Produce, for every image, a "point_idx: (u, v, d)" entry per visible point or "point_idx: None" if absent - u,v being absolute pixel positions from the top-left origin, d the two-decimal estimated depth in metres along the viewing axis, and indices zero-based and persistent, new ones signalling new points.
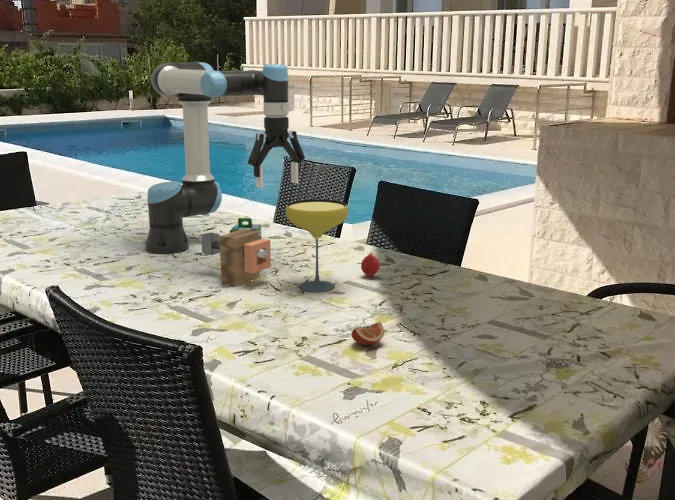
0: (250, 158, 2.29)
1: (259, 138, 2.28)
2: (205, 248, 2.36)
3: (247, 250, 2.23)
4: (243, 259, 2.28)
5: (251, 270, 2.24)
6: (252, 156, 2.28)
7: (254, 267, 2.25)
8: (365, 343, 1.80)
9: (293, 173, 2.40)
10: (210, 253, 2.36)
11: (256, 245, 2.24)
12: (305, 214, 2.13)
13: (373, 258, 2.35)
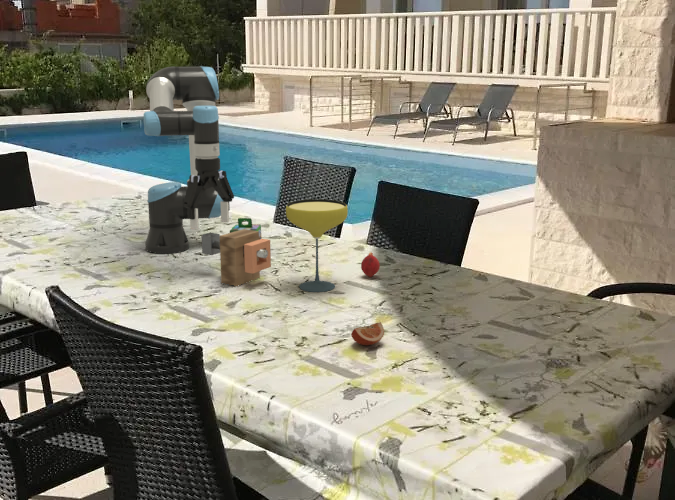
0: (185, 201, 2.26)
1: (193, 180, 2.26)
2: (205, 248, 2.36)
3: (247, 250, 2.23)
4: (243, 259, 2.28)
5: (251, 270, 2.24)
6: (187, 198, 2.26)
7: (254, 267, 2.25)
8: (365, 343, 1.80)
9: (223, 212, 2.40)
10: (210, 253, 2.36)
11: (256, 245, 2.24)
12: (305, 214, 2.13)
13: (373, 258, 2.35)
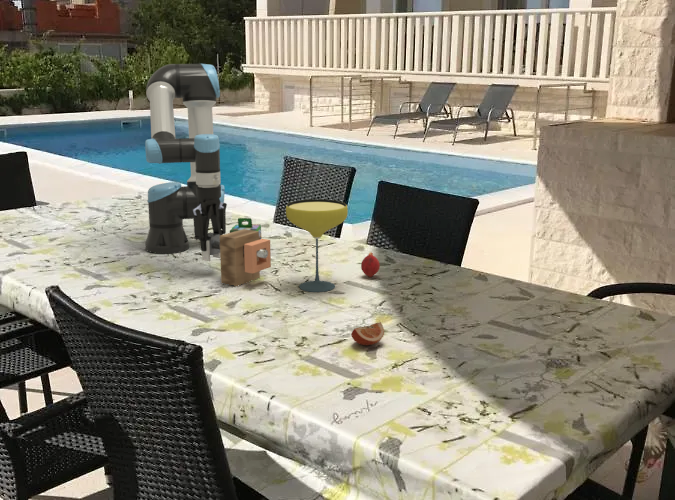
0: (196, 234, 2.32)
1: (196, 214, 2.29)
2: None
3: (247, 250, 2.23)
4: (243, 259, 2.28)
5: (251, 270, 2.24)
6: (197, 232, 2.32)
7: (254, 267, 2.25)
8: (365, 343, 1.80)
9: None
10: (210, 253, 2.36)
11: (256, 245, 2.24)
12: (305, 214, 2.13)
13: (373, 258, 2.35)
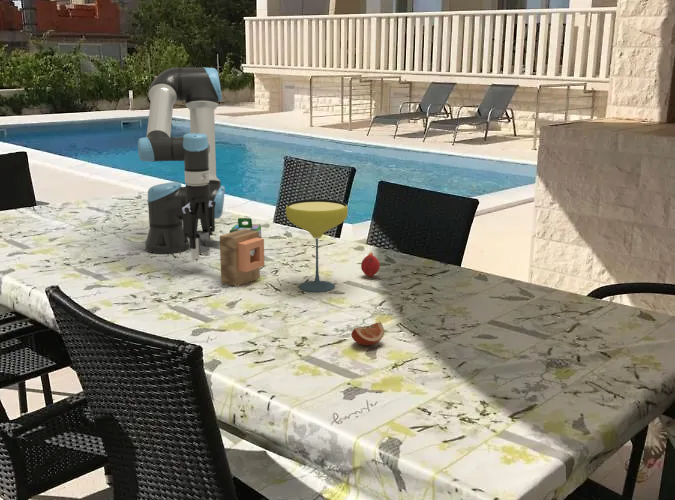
0: (185, 232, 2.35)
1: (185, 212, 2.32)
2: None
3: (241, 249, 2.25)
4: None
5: (245, 269, 2.26)
6: (186, 230, 2.34)
7: (248, 266, 2.26)
8: (365, 343, 1.80)
9: None
10: (199, 251, 2.38)
11: (250, 244, 2.25)
12: (305, 214, 2.13)
13: (373, 258, 2.35)
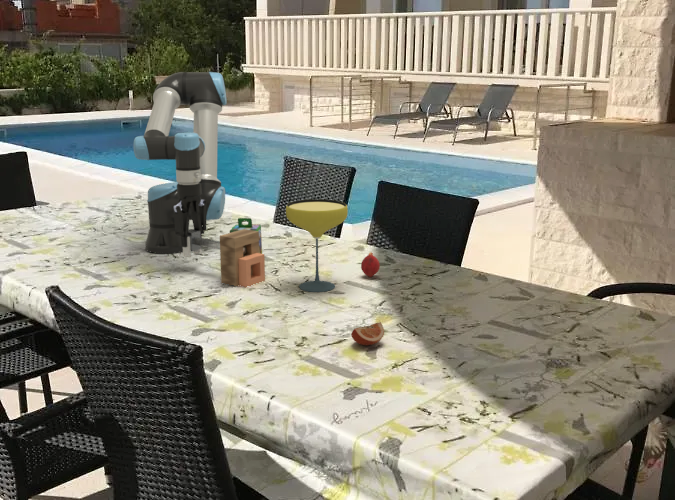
0: (176, 230, 2.37)
1: (177, 211, 2.34)
2: None
3: (241, 264, 2.26)
4: None
5: (245, 284, 2.27)
6: (178, 228, 2.36)
7: (248, 281, 2.27)
8: (365, 343, 1.80)
9: None
10: (191, 249, 2.40)
11: (250, 259, 2.26)
12: (305, 214, 2.13)
13: (373, 258, 2.35)
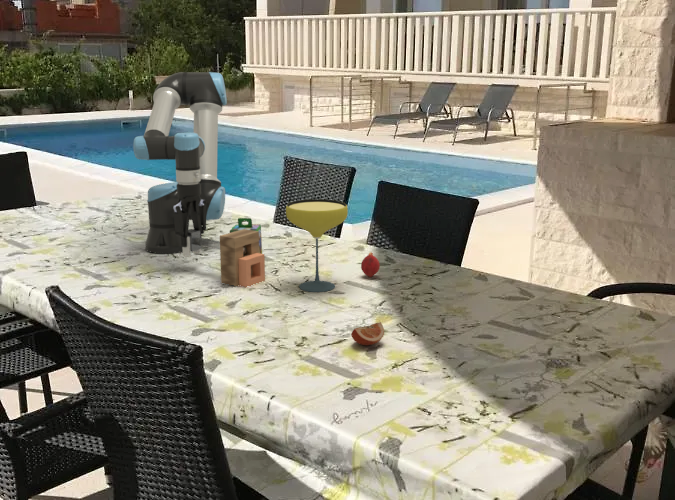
0: (176, 230, 2.37)
1: (176, 211, 2.34)
2: None
3: (241, 264, 2.26)
4: None
5: (245, 284, 2.27)
6: (177, 228, 2.36)
7: (248, 281, 2.27)
8: (365, 343, 1.80)
9: None
10: (191, 249, 2.40)
11: (250, 259, 2.26)
12: (305, 214, 2.13)
13: (373, 258, 2.35)
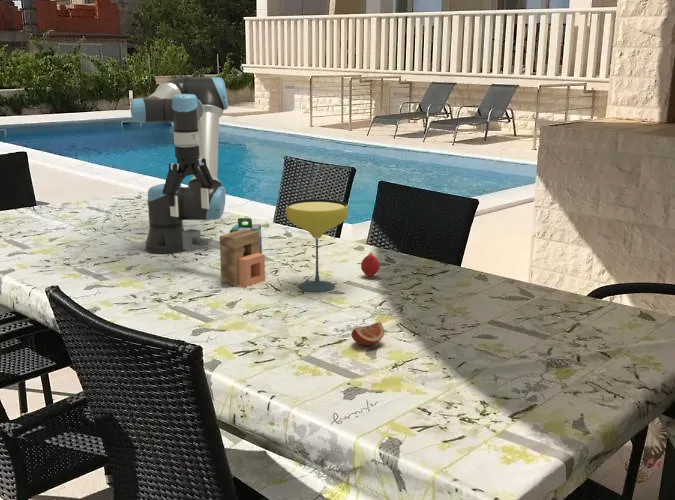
0: (165, 188, 2.30)
1: (173, 168, 2.30)
2: (186, 244, 2.41)
3: (241, 264, 2.26)
4: None
5: (245, 284, 2.27)
6: (167, 186, 2.30)
7: (248, 281, 2.27)
8: (365, 343, 1.80)
9: (203, 199, 2.45)
10: (191, 249, 2.40)
11: (250, 259, 2.26)
12: (305, 214, 2.13)
13: (373, 258, 2.35)
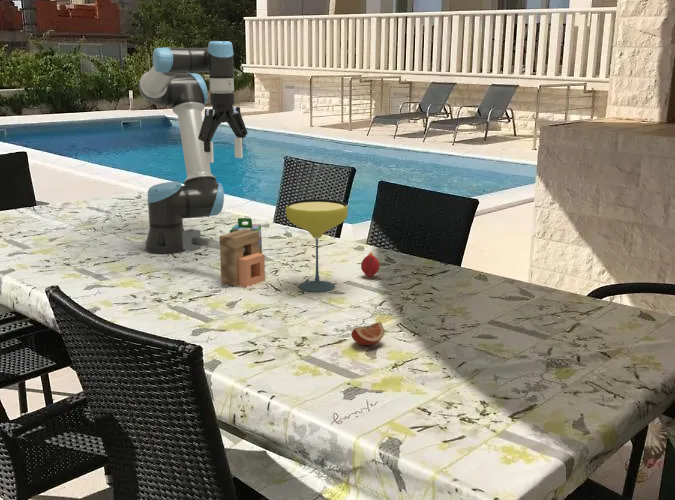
0: (201, 133, 2.33)
1: (209, 113, 2.33)
2: (186, 244, 2.41)
3: (241, 264, 2.26)
4: None
5: (245, 284, 2.27)
6: (203, 131, 2.32)
7: (248, 281, 2.27)
8: (365, 343, 1.80)
9: (237, 148, 2.47)
10: (191, 249, 2.40)
11: (250, 259, 2.26)
12: (305, 214, 2.13)
13: (373, 258, 2.35)
